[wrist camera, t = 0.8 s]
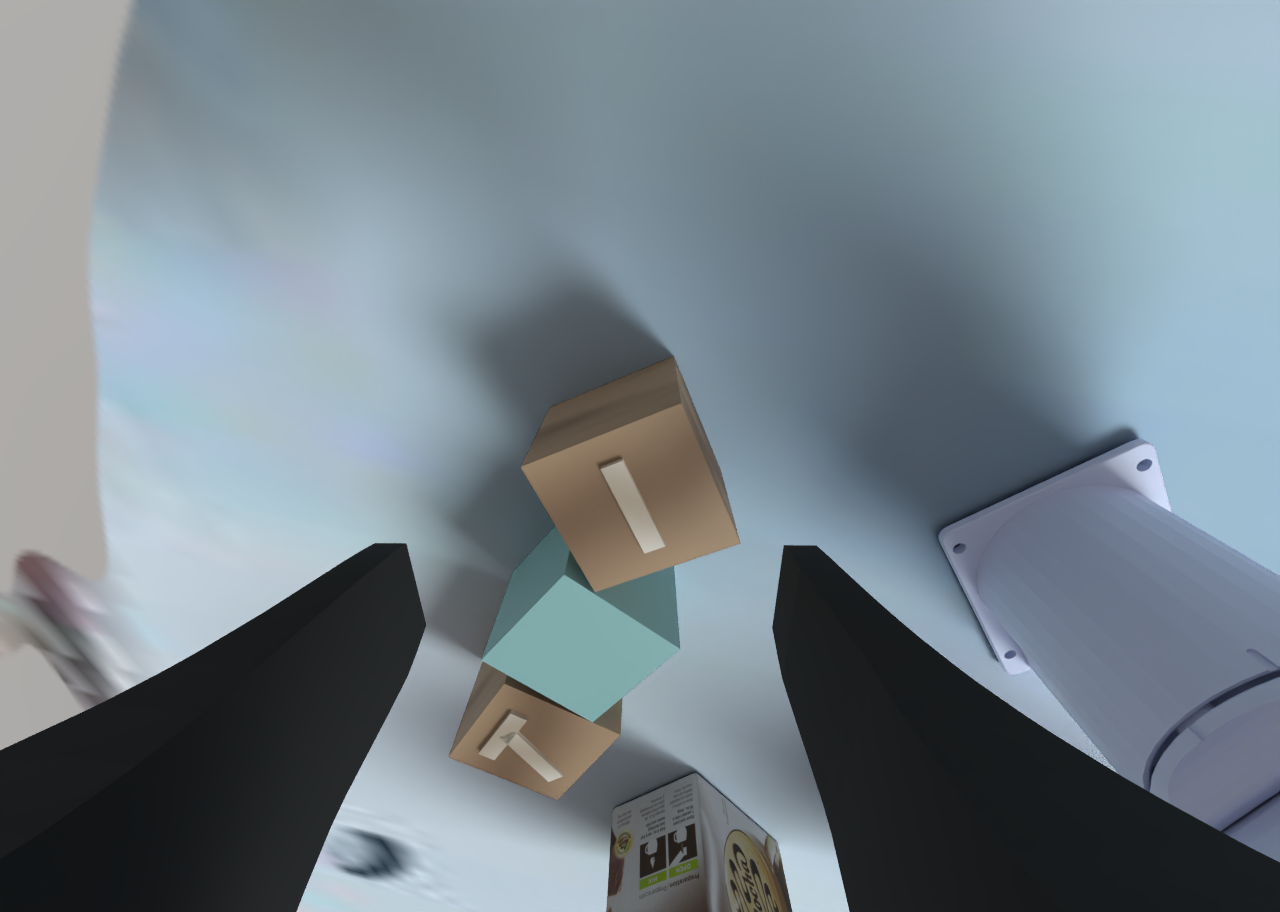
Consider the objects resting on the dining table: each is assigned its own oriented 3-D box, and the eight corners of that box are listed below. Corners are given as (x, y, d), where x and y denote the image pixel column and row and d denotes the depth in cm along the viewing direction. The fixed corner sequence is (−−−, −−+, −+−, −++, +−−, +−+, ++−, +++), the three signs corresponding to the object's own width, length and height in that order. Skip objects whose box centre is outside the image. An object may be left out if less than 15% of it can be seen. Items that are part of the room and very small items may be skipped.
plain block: (673, 560, 23) (680, 649, 18) (602, 626, 24) (592, 722, 20) (581, 496, 21) (564, 574, 17) (513, 570, 23) (480, 660, 18)
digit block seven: (625, 637, 25) (620, 738, 20) (572, 698, 26) (556, 804, 22) (531, 591, 23) (503, 687, 19) (483, 658, 25) (446, 760, 21)
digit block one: (720, 469, 21) (740, 546, 16) (606, 511, 21) (594, 595, 17) (673, 355, 19) (681, 405, 14) (550, 406, 20) (519, 469, 15)
